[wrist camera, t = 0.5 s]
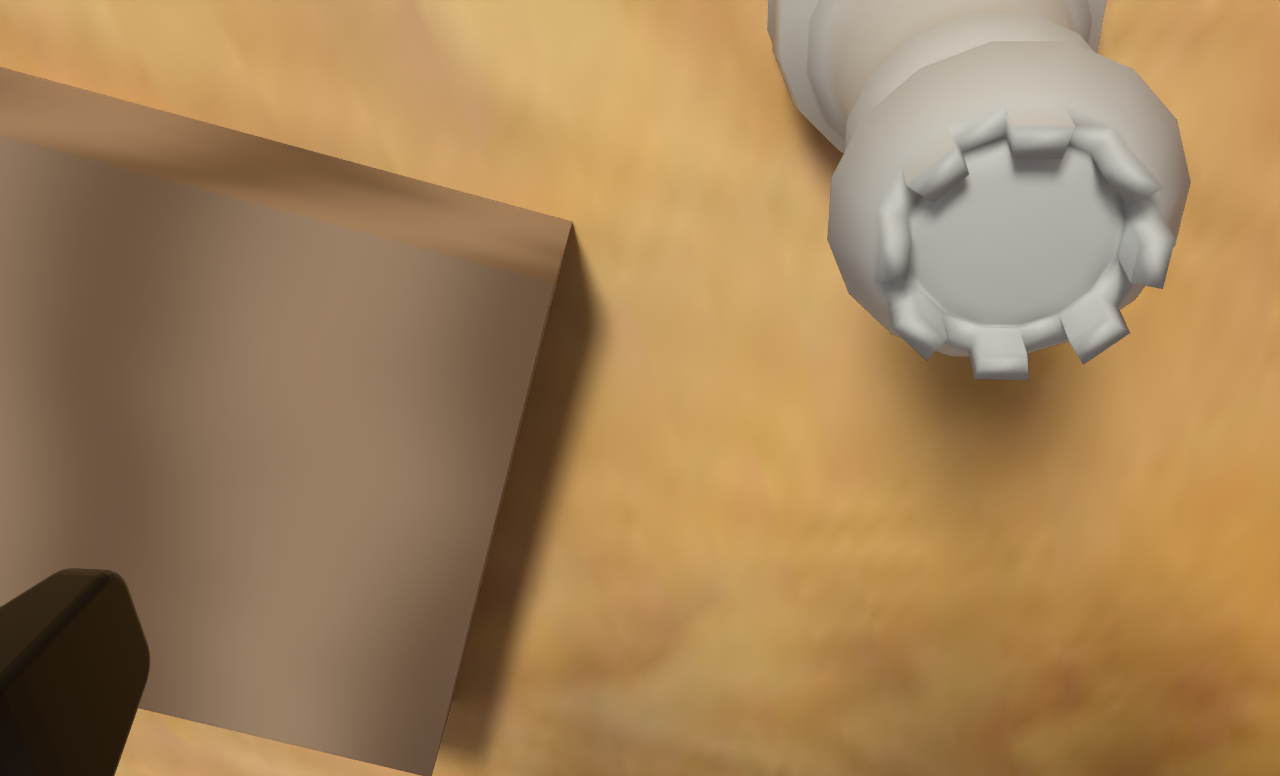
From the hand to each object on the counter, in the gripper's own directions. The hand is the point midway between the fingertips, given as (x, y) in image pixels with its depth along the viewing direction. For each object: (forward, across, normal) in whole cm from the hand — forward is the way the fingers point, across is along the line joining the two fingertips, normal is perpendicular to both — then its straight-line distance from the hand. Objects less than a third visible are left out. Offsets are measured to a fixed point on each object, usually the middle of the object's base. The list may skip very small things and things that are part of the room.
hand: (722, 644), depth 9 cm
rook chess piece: (+12, -2, -2) cm, 12 cm away
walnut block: (+12, +10, +6) cm, 17 cm away
